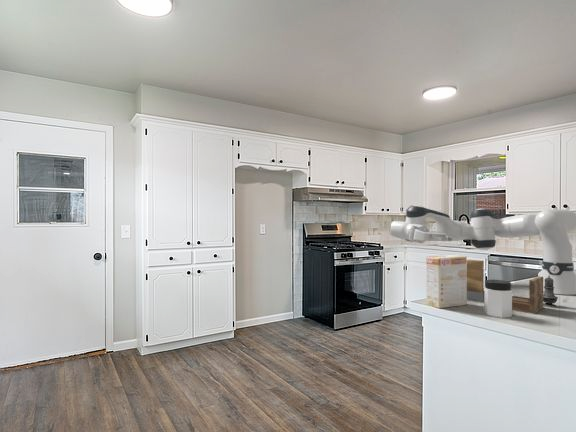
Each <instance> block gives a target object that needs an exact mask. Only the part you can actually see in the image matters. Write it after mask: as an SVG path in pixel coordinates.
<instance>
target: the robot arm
mask: <svg viewBox="0 0 576 432" xmlns="http://www.w3.org/2000/svg"><path fill="white" fill-rule="evenodd" d="M405 216H406V217H405V221H401V220H400V221H399V220H394V221H392V222H391V224H390V226H389V234H390V235H391V236H393V237H394V238H398V239H401V240H403V241H406V242H411V243H418V244H423V243H425V242H454V241H455V242H457V241H465V240H470V241H469V244H471V245H472V246H473V247H475V248H476V249H479V250H482V251H483V250H484V251H486V250H490V249H492V248H495V247H496V243H497V240H496V237H498V238H522V237H523V238H524V237H531V236H540V239H541V242H542V251H543V253H542V259H543V260H542V262H541V268H542V269H541V271H539V272H538V276H537V277H539V276H540V277H543V293H544V286H545V278H548V276H550V278H552V279H553V287H555V288H554V295H555V294H556V295H567V296H568V295H569V296H571V295H572V296H574V295H576V274H575V272H574V270H575V269H574V268H575V266H574V265H575V264H574V262H573V246H572V245H573V244H572V243H571V242H570V239H569V236H568V233H569V232H572V231H573V230H576V213H575V212H573V211H571V210H570V209H569V210H568V209H559V208H557V209H556V208H553V209H551V208H548V209H545V210H542V211H540V212H532V213H525V214H519V215H517V214H516V215H513V216H512V215H511V216H507V217H503V218H495V217H497V214H495V213H493V211H491V210H490V209H487V208H477V209H475V210H472V211H471V213H470V216H469V217H470V218H469V219H470V224H469V223H467V222H465V221H461V220H453V219H452V218H451V217H450V215H449V214H447V213H444V212H442V211H438V210H434V209H430V208H428V207H427V208H426V207H425V206H422V205H418V204H412V205H410V206H409V207H407V209H406V212H405ZM427 217H429V218H433V219H434V222H435V226H436V228H435V229H436V231H434V230H433V231H430V230H429V229H428V227H427V226H426V221H427Z"/></svg>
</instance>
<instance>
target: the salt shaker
mask: <svg viewBox="0 0 576 432" xmlns="http://www.w3.org/2000/svg"><path fill="white" fill-rule="evenodd" d="M554 288H555V287H553V279H552V278H550V276H548V278H545V286H544V292H543V307H546V308H558V305H556V303H557V301H558V299H559V297H558V296H556V295H555V294H554Z"/></svg>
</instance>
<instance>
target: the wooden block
mask: <svg viewBox="0 0 576 432" xmlns="http://www.w3.org/2000/svg"><path fill="white" fill-rule="evenodd" d="M484 263H485V262H484V260H478V259H467V290H468V291H475V292H482V293H483V298H484V287H485V279H484V276H485V275H484V274H485V273H484V271H485V269H484V267H485V265H484Z"/></svg>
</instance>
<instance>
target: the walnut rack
mask: <svg viewBox="0 0 576 432" xmlns="http://www.w3.org/2000/svg"><path fill="white" fill-rule="evenodd" d="M528 291H529V297H525V296H524V297H523V296H518V295H512V298H519V299H526V300H528V302H529V304H525V303H519V302H512V311H515V312H521V313H527V314H536V313H537V312H540V311H541V310H542V309H544V306H543V303H544V302H543V294H544V292H543V277H540V276H539V277H538V276H537V277H535V278H532V279H529V290H528Z"/></svg>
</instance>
